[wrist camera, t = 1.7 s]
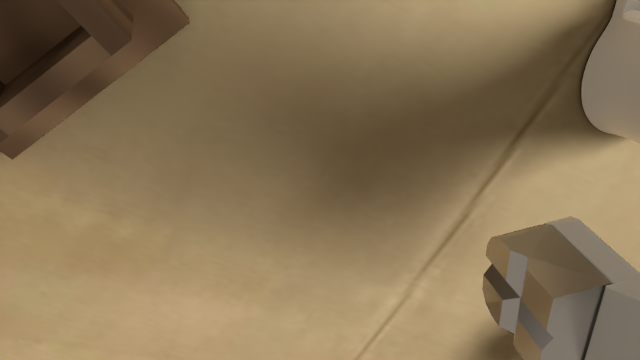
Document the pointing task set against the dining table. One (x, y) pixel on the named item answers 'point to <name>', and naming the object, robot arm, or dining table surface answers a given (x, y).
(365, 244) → the dining table surface
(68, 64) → the socket stand
